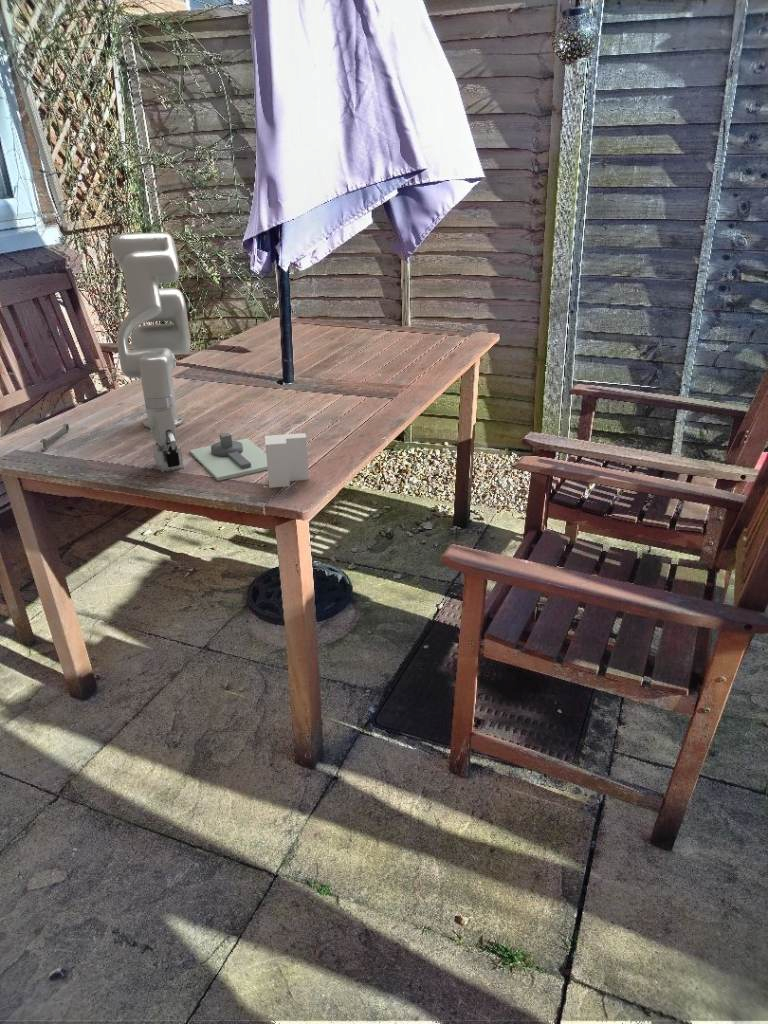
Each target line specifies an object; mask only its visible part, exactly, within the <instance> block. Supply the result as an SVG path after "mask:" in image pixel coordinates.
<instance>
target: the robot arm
mask: <svg viewBox="0 0 768 1024" xmlns="http://www.w3.org/2000/svg"><path fill="white" fill-rule="evenodd" d="M175 243H176V242H175V240H174V238H173V236H172V235H171V234H169V233H167V232H132V233H120V234H116V235H114V236H112V237H111V238H110V239H109V247H110V251H111V254H112V255H113V257H114V259H115V261H116V262H117V264H118V265H119V267H120V268H121V270H122V272H123V277H124V283H125V284H124V285H125V289H126V297H127V303H128V304H127V305H128V313H127V315H126V316H125V318H124V319H123V320H122V322H121V324H120V326H119V328H118V331H117V337H116V343H117V344H116V345H117V350H118V359H119V364H120V370H121V371H122V373H123V374H124V376H126V377H127V378H130V379H138V378H140V380H141V386H142V387H141V389H142V393H143V399H144V404H145V405H144V406H145V411H146V416H147V418H145V419H144V420H143V422H142V423H143V426H144V427H145V428H147V429H150V436H151V438H152V440H153V441H154V442H155V445H160V446H162V445H165V448H166V452H167V453H166V458H167V465H168V467H174V466H179V465H180V462H179V455H178V450H177V446H176V444H177V443H178V435H177V430H176V429H177V428H176V427H177V426H180V425H182V424H183V423H184V417H183V416H182V415H180V414H178V409H177V400H176V394H175V387H174V382H173V374H172V373H173V372H174V370H175V368H176V365H177V362H176V360H177V359H176V355H178V356H179V355H183V354H184V355H185V354H188V353H189V352H190V350H191V342H192V341H191V334H190V333H191V332H190V326H189V319H188V313H187V312H188V311H187V303H186V300H185V296H184V294H183V293H182V291H181V290H180V289H178V288H176V287H165V288H162V287H161V288H159V284H171V283H176V282H178V280H179V278H180V265H179V264H180V263H179V259H178V253H177V247H176V244H175ZM169 321H170V322H172V323H161V324H160V323H159V324H158V323H157V324H156V323H155V322H169ZM151 322H152V323H153V322H154V323H155V324H146V325H142V324H144V323H151ZM130 336H131V337H130ZM129 337H130V339H131V344H132V349H129ZM169 445H171V446H169ZM168 446H169V448H168Z"/></svg>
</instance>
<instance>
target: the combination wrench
mask: <svg viewBox="0 0 768 1024" xmlns="http://www.w3.org/2000/svg"><path fill="white" fill-rule="evenodd" d="M69 431H70V426H69V424H68V423H63V425H62V428H61V429H59V430H58V431H57V432H55V433H54V434H53V435H51V436H50V437H48V439H46V438H41V439H40V441H39V443H42V448H40V450H41V451H42V452H45V451H47V450H48V447H49V446H50V444H52V443H53V442H54V441H55V440H57V439H58V438H59V437H61V436H62V435H64V434H65V433H68V432H69Z"/></svg>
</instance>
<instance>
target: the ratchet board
mask: <svg viewBox="0 0 768 1024" xmlns="http://www.w3.org/2000/svg"><path fill="white" fill-rule="evenodd" d="M219 440H220V441H219V442H215V443H213V444H211V445H207V446H202V447H198V448H193V449H189V454H190V455H191V456H192V457H193V456H194V457H193V458H194V459H195V460H196V459H197V460H198V461H199V462H200V463H201V464H202V465H203V466H204V467H205V468H206V469H205V468H204V467H203V466H202V465H201V464H200V463H199V462H198V461H197V460H196V461H197V462H198V463H199V464H200V465H201V466H202V467H203V468H204V469H205V471H207V472H208V473H209V474H210V475H211V476H212V477H213V478H214V479H215V480H216V481H218V482H219V481H223V480H228V479H232V478H236V477H237V478H238V477H241V476H246V475H251V474H254V473H259V472H260V473H261V472H264V471H268V468H267V457H266V451H264V449H262V448H260V447H259V446H258V445H257V444H256V443H254V442H253V441H251V440H250V439H249V438H243V439H242V438H241V439H237V440H233V438H232V434H230V433H229V432H225V433H219Z"/></svg>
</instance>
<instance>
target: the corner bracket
mask: <svg viewBox="0 0 768 1024" xmlns="http://www.w3.org/2000/svg"><path fill="white" fill-rule="evenodd" d="M307 442H308V441H307V434H306V432H303V433H302V432H301V433H286V434H273V435H265V436H264V444H265V453H266V457H267V468H268V470H267V477H268V488H282V487H283V488H285V487H290V486H291V485H290V482H291V481H292V482H293V481H295V482H296V481H306V480H310V475H309V473H310V472H309V460H308V458H309V457H308V443H307Z"/></svg>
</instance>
